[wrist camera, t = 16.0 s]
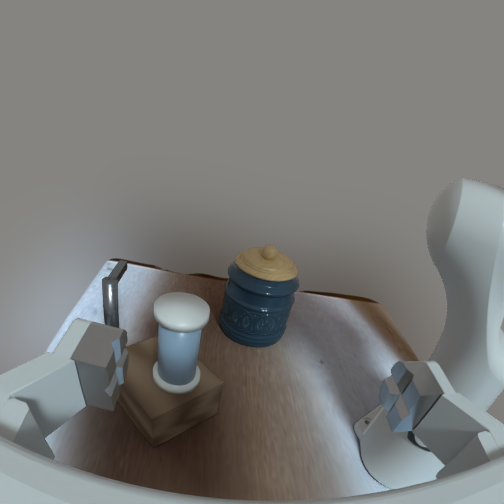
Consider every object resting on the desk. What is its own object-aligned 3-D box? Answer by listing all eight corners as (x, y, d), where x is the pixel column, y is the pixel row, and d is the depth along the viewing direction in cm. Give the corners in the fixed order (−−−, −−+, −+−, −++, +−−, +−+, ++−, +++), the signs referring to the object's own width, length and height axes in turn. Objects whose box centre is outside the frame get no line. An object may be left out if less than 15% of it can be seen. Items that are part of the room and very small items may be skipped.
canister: (261, 359, 54) (286, 271, 47) (204, 325, 60) (218, 240, 53) (294, 328, 65) (319, 250, 58) (243, 301, 70) (259, 226, 63)
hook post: (130, 336, 42) (130, 262, 38) (119, 364, 37) (114, 286, 32) (119, 334, 42) (117, 259, 37) (106, 361, 37) (99, 282, 32)
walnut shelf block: (168, 364, 48) (170, 331, 46) (217, 413, 41) (223, 382, 39) (108, 387, 41) (104, 354, 38) (153, 447, 34) (151, 418, 31)
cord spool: (181, 354, 42) (188, 287, 37) (209, 382, 38) (221, 314, 34) (144, 370, 37) (143, 300, 33) (170, 401, 34) (174, 331, 30)
